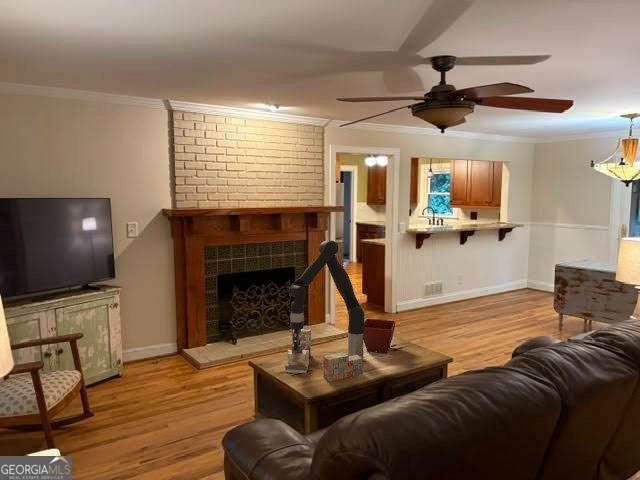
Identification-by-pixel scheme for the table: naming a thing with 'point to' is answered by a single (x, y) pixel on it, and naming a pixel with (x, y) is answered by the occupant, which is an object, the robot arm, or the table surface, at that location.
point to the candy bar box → (304, 340)
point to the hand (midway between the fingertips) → (297, 347)
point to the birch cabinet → (297, 357)
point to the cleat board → (298, 368)
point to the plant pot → (378, 335)
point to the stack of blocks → (341, 366)
